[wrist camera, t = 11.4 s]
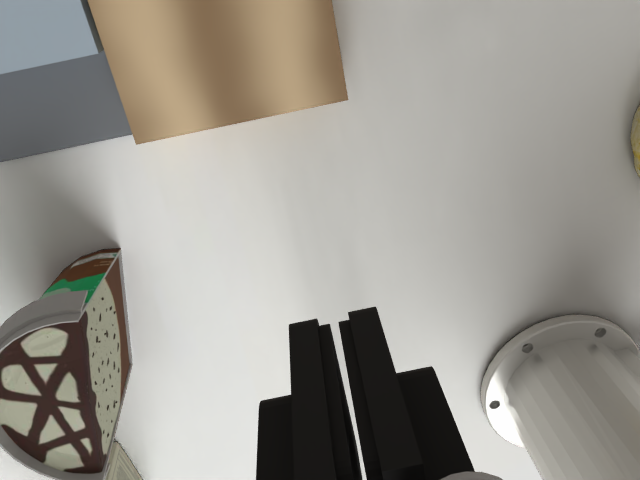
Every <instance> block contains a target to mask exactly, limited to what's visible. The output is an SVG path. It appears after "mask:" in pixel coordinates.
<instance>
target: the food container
mask: <svg viewBox="0 0 640 480" xmlns="http://www.w3.org/2000/svg"><path fill="white" fill-rule="evenodd" d="M131 369H132V355H131V345H130V335H129V325H128V315H127V305H126V296H125V286H124V276H123V266H122V256H121V248H116V249H103V250H100V251H97V252H94V253H91V254H88V255H85V256H82V257H80V258H79V259H77V260H76V261H75V262H73V263H72V264H71V265H69V266H68V267H67V268H65V269H64V270H63V271H62V272H61V274H60V275H59V276H58V277H57V278H56V280H55V281H54V282H53V283H52V284H51V286H50V287H49V288H48V289H47V291H46V292H45V293H44V294H43V295H42V297H41V298H40V299H39V300H37V301H35V302H32V303H31V304H29V305H27V306H25V307H24V308H22V309H20V310H18V311H17V312H16V313H15V314H13V315H12V316H11V317H10V318H8V319H7V320H6V321H5V322H4V323H3V324H2V326H1V327H0V446H1V448H2V449H3V450H5V451H6V452H7V453H8V454H9V455H10V456H11V457H12V458H14V459H15V460H17V461H18V462H19V463H21V464H22V465H24V466H25V467H27V468H29V469H31V470H33V471H35V472H37V473H39V474H41V475H44V476H47V477H50V478H52V479H55V480H105V478H106V476H107V473H108V470H109V468H110V463H108V461H109V457H110V453H111V449H112V445H113V441H114V437H115V433H116V429H117V425H118V421H119V417H120V413H121V409H122V405H123V401H124V397H125V393H126V389H127V385H128V381H129V377H130V373H131Z"/></svg>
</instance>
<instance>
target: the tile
mask: <svg viewBox="0 0 640 480" xmlns="http://www.w3.org/2000/svg"><path fill="white" fill-rule="evenodd" d="M103 50H104V48H103V45H102V42H101V39H100V36H99V33H98V30H97V27H96V24H95V21H94V18H93V15H92V12H91V9H90V6H89V3H88V0H0V74H4V73H9V72H13V71H18V70H23V69H28V68H32V67H37V66H42V65H47V64H51V63H56V62H61V61H66V60H70V59H75V58H80V57H85V56H89V55H94V54H99V53H100V52H102V51H103Z"/></svg>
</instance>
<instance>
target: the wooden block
mask: <svg viewBox="0 0 640 480" xmlns="http://www.w3.org/2000/svg"><path fill="white" fill-rule="evenodd" d="M88 3H89V6H90V9H91V12H92V15H93V18H94V21H95V24H96V27H97V30H98V33H99V36H100V39H101V42H102V45H103V48H104V51H105V54H106V57H107V60H108V63H109V66H110V69H111V72H112V75H113V78H114V80H115V83H116V86H117V89H118V92H119V95H120V98H121V101H122V104H123V107H124V110H125V113H126V116H127V119H128V122H129V125H130V128H131V131H132V134H133V137H134V140H135V143H136V145H137V144H141V143H146V142H151V141H156V140H160V139H165V138H170V137H175V136H179V135H184V134H189V133H194V132H198V131H203V130H208V129H213V128H217V127H222V126H227V125H232V124H236V123H241V122H246V121H251V120H255V119H260V118H265V117H270V116H274V115H279V114H284V113H289V112H293V111H298V110H303V109H308V108H312V107H317V106H322V105H326V104H331V103H336V102H341V101H345V100H348V96H347V90H346V84H345V78H344V72H343V66H342V60H341V54H340V48H339V42H338V36H337V30H336V24H335V18H334V12H333V6H332V0H88Z"/></svg>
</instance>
